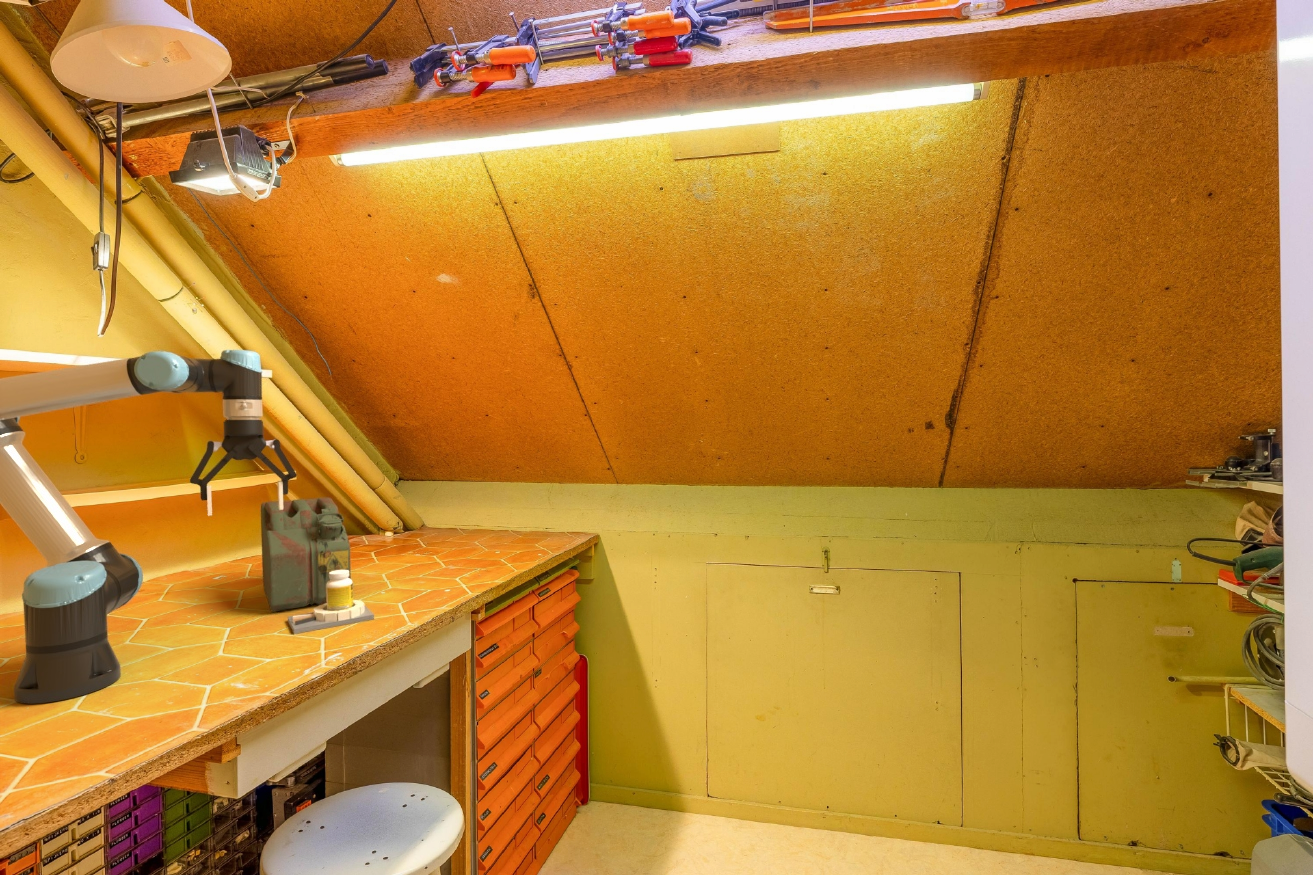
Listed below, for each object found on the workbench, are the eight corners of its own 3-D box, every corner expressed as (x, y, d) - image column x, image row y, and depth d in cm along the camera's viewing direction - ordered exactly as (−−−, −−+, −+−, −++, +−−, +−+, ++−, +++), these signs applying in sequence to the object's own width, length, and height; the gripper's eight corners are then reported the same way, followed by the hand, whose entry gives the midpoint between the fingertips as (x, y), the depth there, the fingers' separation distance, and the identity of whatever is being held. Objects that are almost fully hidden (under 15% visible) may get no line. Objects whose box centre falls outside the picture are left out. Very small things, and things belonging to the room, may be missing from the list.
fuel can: (271, 616, 165) (268, 513, 165) (262, 587, 194) (260, 500, 193) (351, 603, 177) (349, 507, 176) (332, 577, 205) (330, 495, 204)
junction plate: (294, 634, 151) (293, 620, 151) (287, 621, 161) (287, 609, 161) (374, 619, 162) (373, 606, 162) (363, 608, 172) (363, 596, 172)
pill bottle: (357, 613, 163) (356, 571, 163) (332, 619, 158) (330, 575, 158) (348, 608, 167) (347, 567, 167) (323, 614, 163) (322, 571, 162)
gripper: (173, 419, 132) (177, 519, 133) (308, 418, 147) (310, 508, 148) (174, 419, 138) (177, 515, 139) (303, 418, 153) (305, 505, 154)
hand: (246, 512), depth 143 cm, fingers open, 13 cm apart
